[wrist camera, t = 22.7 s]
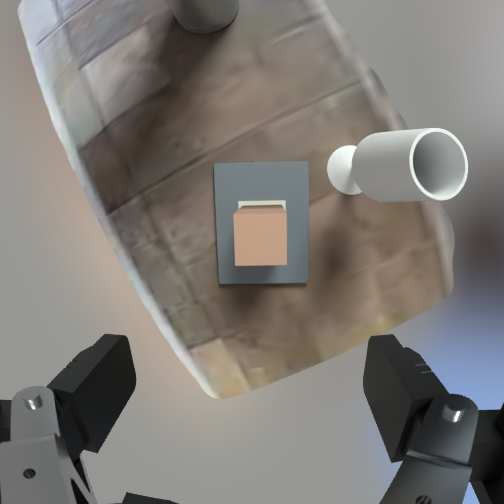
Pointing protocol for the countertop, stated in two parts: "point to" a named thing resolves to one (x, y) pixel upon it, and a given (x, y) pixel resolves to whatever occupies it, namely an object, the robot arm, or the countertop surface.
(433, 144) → the champagne flute
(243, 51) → the countertop surface
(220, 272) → the slate board
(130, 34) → the countertop surface
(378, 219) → the countertop surface
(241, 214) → the terracotta block
